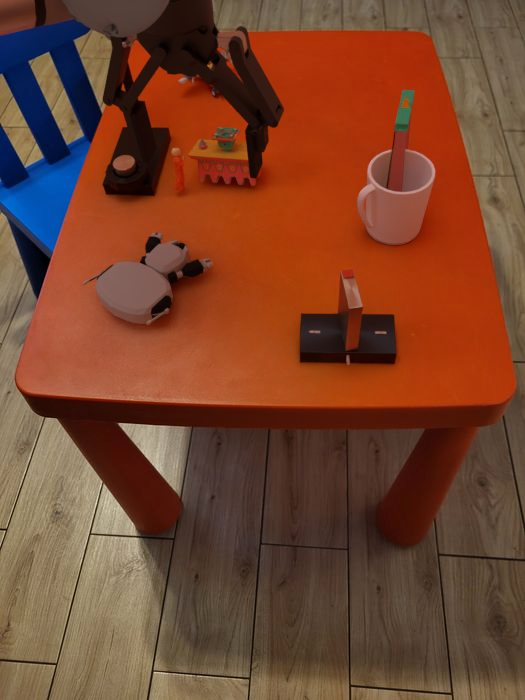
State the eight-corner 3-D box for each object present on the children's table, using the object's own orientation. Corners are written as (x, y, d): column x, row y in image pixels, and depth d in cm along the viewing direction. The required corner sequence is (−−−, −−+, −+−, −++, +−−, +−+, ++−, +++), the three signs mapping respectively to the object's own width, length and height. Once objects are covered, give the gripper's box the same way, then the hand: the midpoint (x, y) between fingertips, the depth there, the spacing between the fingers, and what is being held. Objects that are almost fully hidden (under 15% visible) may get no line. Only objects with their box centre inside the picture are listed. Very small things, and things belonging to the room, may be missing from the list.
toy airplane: (229, 100, 109) (225, 66, 103) (180, 99, 110) (173, 66, 105) (237, 69, 114) (233, 36, 108) (189, 69, 115) (184, 36, 109)
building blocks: (398, 214, 87) (410, 116, 77) (169, 194, 94) (153, 103, 85) (405, 172, 96) (417, 80, 86) (195, 157, 103) (183, 70, 93)
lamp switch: (134, 179, 94) (131, 170, 93) (113, 178, 94) (110, 169, 93) (139, 164, 96) (136, 155, 94) (118, 163, 96) (115, 154, 95)
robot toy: (157, 242, 92) (85, 304, 86) (152, 219, 89) (76, 282, 82) (220, 277, 88) (149, 344, 81) (217, 254, 84) (143, 323, 77)
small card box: (358, 349, 76) (363, 305, 68) (345, 351, 76) (349, 307, 68) (349, 314, 79) (353, 267, 71) (337, 316, 79) (340, 269, 71)
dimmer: (299, 374, 77) (299, 364, 75) (301, 313, 83) (301, 301, 80) (395, 376, 76) (397, 365, 74) (391, 313, 81) (393, 301, 79)
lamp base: (152, 203, 96) (146, 183, 93) (103, 201, 97) (96, 182, 94) (171, 138, 104) (166, 118, 101) (126, 137, 105) (119, 117, 102)
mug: (401, 196, 93) (410, 140, 84) (435, 233, 89) (449, 178, 80) (338, 223, 91) (341, 168, 82) (371, 262, 86) (377, 209, 78)
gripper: (311, -37, 54) (311, 156, 72) (62, -55, 59) (119, 129, 77) (289, 9, 50) (295, 200, 68) (25, -15, 56) (95, 168, 73)
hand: (202, 162), depth 73 cm, fingers open, 13 cm apart
